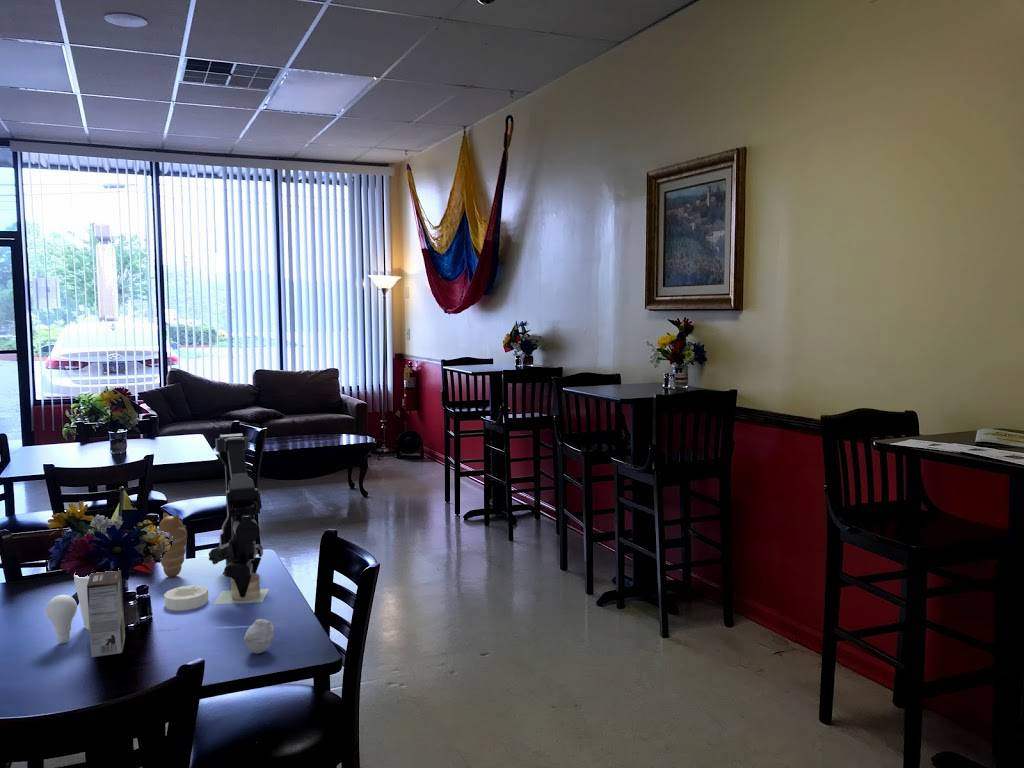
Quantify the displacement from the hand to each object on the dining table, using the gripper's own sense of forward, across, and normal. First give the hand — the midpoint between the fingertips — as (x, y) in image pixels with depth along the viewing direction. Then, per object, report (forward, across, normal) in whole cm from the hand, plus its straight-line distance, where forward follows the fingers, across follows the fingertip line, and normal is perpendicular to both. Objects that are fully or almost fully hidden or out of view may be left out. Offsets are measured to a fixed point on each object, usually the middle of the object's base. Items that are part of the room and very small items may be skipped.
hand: (245, 592), depth 209 cm
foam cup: (+2, +14, -31) cm, 34 cm away
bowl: (+1, +3, -14) cm, 14 cm away
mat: (+1, 0, -1) cm, 2 cm away
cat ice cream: (+2, -20, -24) cm, 31 cm away
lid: (+1, 0, 0) cm, 1 cm away
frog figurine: (+2, +35, +10) cm, 36 cm away
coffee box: (+2, +28, -24) cm, 37 cm away
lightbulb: (+2, +24, -35) cm, 42 cm away
